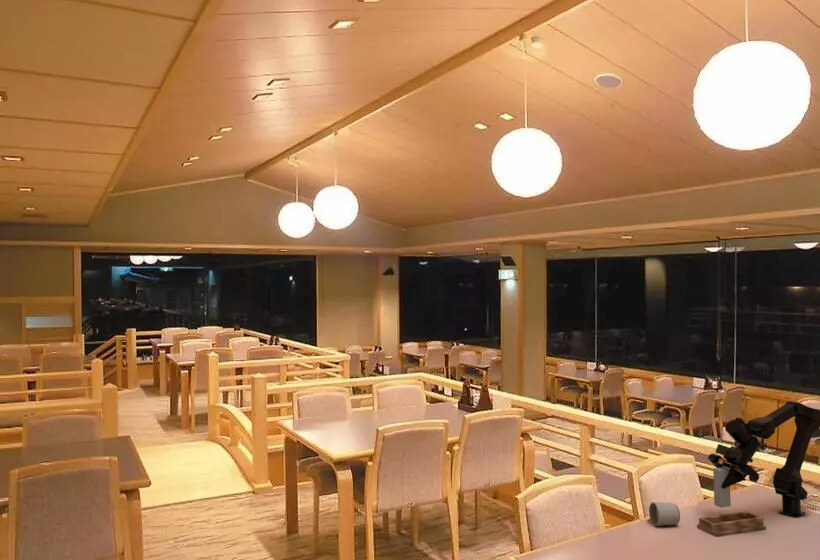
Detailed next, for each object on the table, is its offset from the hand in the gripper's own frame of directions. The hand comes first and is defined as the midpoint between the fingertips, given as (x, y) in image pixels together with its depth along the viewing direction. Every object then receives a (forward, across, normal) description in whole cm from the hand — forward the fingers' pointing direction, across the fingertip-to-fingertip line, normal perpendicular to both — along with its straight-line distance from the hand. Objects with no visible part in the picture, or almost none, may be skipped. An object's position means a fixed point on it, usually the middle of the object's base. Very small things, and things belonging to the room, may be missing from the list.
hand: (718, 486), depth 222 cm
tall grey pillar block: (+4, 0, +6) cm, 7 cm away
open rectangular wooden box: (+8, +3, +11) cm, 14 cm away
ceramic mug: (+21, -8, -2) cm, 23 cm away
